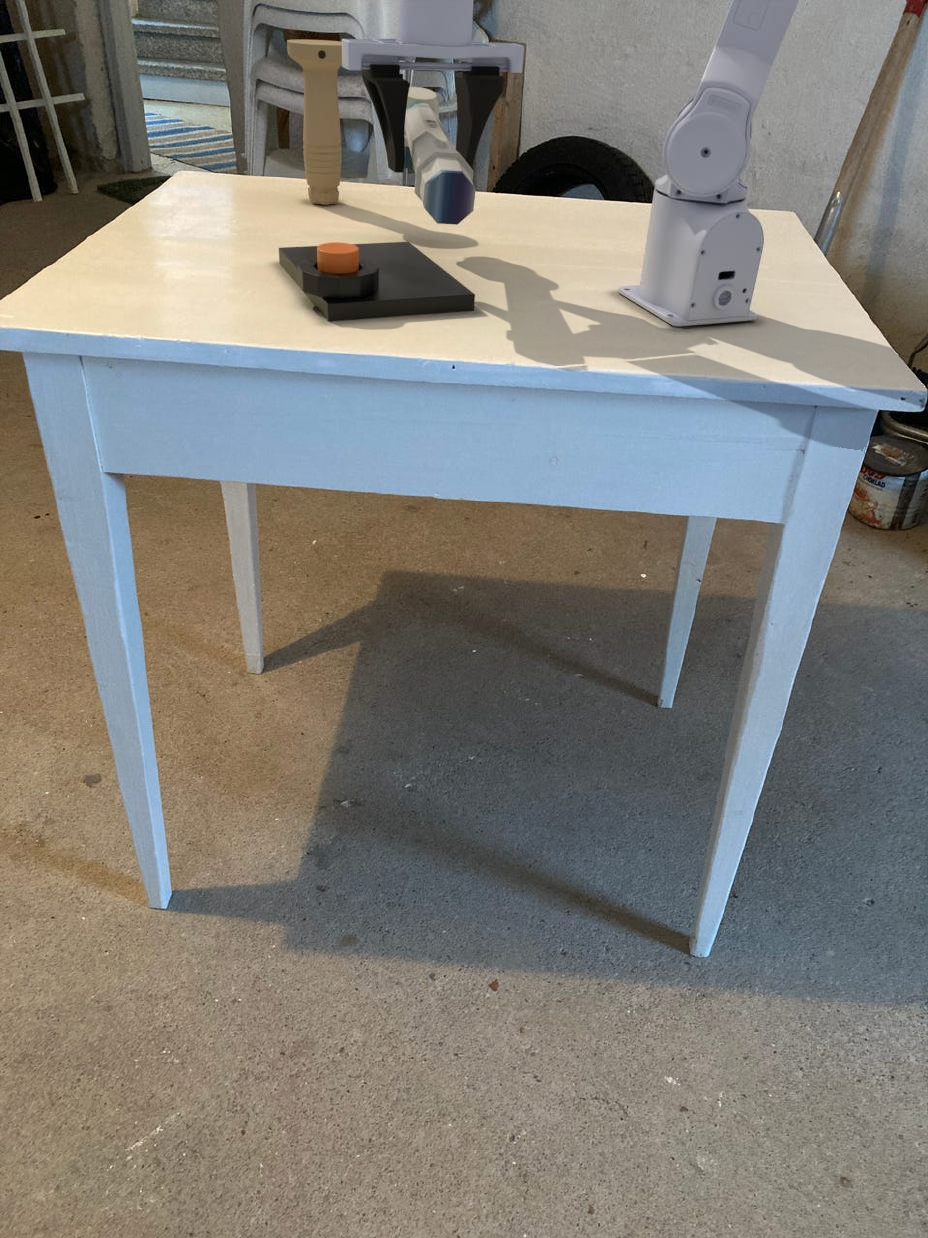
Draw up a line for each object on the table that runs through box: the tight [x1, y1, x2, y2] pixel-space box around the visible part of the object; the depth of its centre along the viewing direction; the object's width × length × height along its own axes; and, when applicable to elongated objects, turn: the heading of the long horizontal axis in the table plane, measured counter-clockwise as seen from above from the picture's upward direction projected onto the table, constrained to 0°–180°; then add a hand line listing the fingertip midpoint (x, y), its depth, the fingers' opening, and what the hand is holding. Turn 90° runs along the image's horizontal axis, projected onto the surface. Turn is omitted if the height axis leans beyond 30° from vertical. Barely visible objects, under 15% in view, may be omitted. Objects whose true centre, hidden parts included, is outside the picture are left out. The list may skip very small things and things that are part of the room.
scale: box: [278, 241, 476, 322], centre depth 82 cm, size 16×13×3 cm
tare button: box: [317, 241, 359, 273], centre depth 76 cm, size 3×3×2 cm
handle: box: [286, 39, 343, 206], centre depth 102 cm, size 5×6×15 cm
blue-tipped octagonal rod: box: [404, 86, 477, 225], centre depth 82 cm, size 5×7×25 cm
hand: (430, 169), depth 82 cm, fingers closed on blue-tipped octagonal rod, 5 cm apart
